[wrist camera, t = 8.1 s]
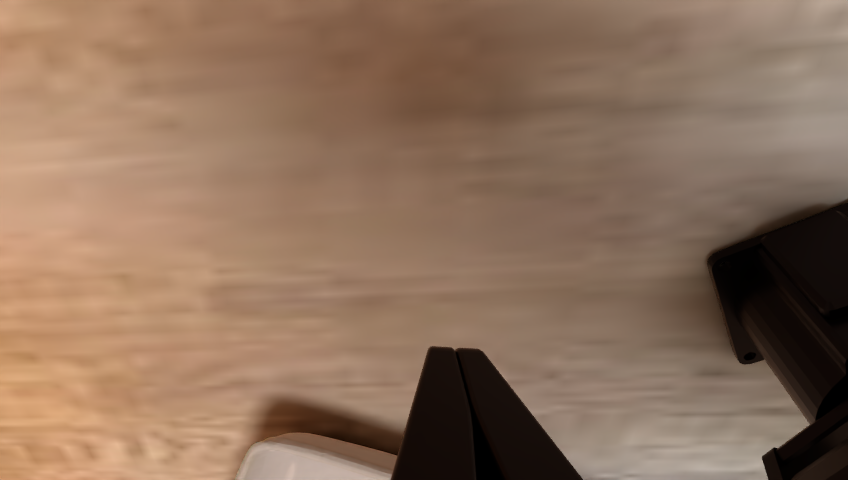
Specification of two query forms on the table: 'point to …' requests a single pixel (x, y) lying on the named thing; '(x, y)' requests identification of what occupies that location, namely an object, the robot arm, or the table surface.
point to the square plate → (314, 460)
